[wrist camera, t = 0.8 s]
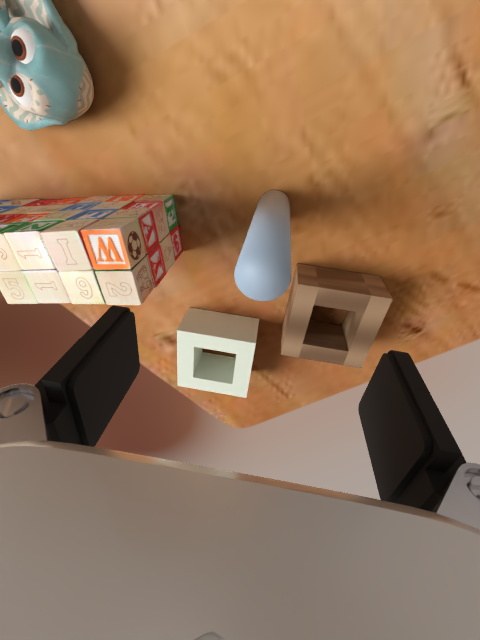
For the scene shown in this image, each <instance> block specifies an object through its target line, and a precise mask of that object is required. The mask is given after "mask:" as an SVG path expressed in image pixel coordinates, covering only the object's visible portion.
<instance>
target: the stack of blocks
mask: <svg viewBox="0 0 480 640" xmlns="http://www.w3.org/2000/svg"><path fill="white" fill-rule="evenodd" d="M182 252H183V248H182V242H181V236H180V231H179V225H178V222H177V216H176V210H175V204H174V197H173V195H172V194H169V195H143V194H142V195H118V196H116V195H115V196H92V197H89V198H66V199H53V200H40V199H23V200H8V201H0V290H1V292H2V294H3V296H4V298H5V300H6V301H7V303H8V304H38V303H73V304H108V305H141V304H142V303H143V302H144V301H145V299H146V298H147V297H148V295H149V294H150V293H151V291H152V290H153V288H154V287H157V285H158V284H159V283H160V281H161V280H162V279H163V278H164V276H165V275H166V272H167V271H168V270H169V268H170V267H171V266H172V264H173V263H174V261H176V260H177V258H178V257H179V256H180V254H181V253H182Z"/></svg>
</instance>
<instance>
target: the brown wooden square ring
mask: <svg viewBox="0 0 480 640" xmlns="http://www.w3.org/2000/svg"><path fill="white" fill-rule="evenodd" d="M392 300H393V298H392V297H391V295H390V293H389V291H388V290H387V288H386V286H385V284H384V283H383V281H382V279H381V277H380V276H376V275H369V274H363V273H356V272H350V271H343V270H337V269H330V268H324V267H317V266H311V265H304V264H298V263H297V265H296V269H295V274H294V278H293V282H292V287H291V291H290V295H289V300H288V304H287V308H286V313H285V317H284V321H283V326H282V336H281V355H285V356H291V357H297V358H303V359H309V360H315V361H321V362H327V363H333V364H339V365H345V366H350V367H356V368H362V365H363V363H364V361H365V359H366V357H367V354H368V352H369V350H370V348H371V346H372V344H373V341H374V339H375V337H376V335H377V333H378V330H379V328H380V326H381V324H382V322H383V319H384V317H385V315H386V313H387V311H388V309H389V306H390V304H391V302H392ZM314 305H317V306H323V307H329V308H336V309H342V310H347V313H346V316H345V318H344V321H343V324H342V325H336V324H330V323H324V322H318V321H312V320H310V316H311V313H312V310H313V306H314Z"/></svg>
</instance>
